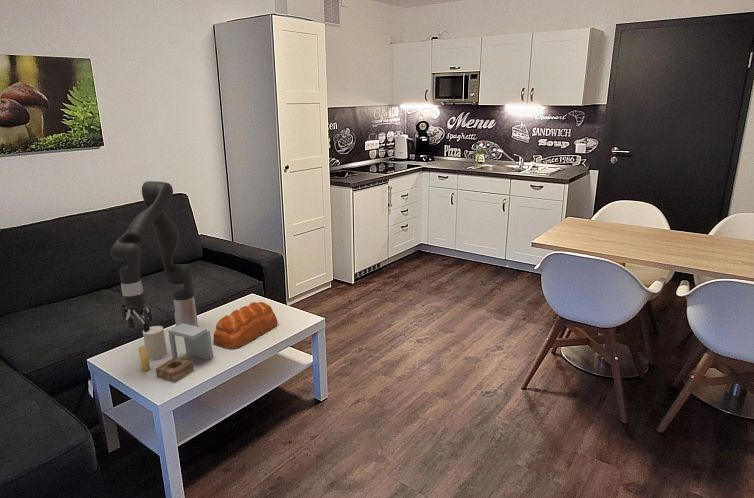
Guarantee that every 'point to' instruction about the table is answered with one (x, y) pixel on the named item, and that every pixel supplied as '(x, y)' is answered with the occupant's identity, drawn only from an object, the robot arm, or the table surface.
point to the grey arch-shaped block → (192, 340)
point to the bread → (244, 325)
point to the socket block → (174, 369)
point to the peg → (144, 358)
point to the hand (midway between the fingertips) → (139, 329)
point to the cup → (155, 342)
